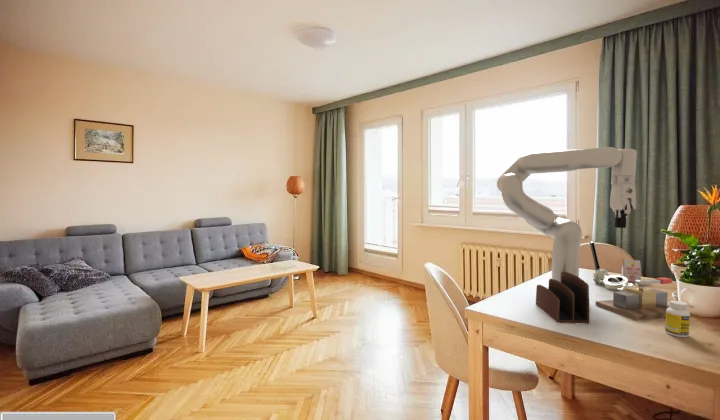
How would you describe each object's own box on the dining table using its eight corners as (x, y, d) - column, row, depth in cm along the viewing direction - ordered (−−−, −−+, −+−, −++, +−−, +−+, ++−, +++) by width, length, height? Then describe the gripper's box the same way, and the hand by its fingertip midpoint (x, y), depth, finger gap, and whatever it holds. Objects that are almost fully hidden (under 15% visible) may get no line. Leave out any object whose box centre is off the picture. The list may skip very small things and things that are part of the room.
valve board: (636, 320, 120) (636, 315, 120) (595, 305, 135) (595, 301, 135) (688, 315, 124) (688, 310, 124) (642, 301, 140) (643, 297, 140)
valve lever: (641, 286, 127) (641, 281, 127) (632, 284, 130) (633, 279, 130) (672, 283, 131) (673, 279, 131) (663, 281, 134) (663, 277, 134)
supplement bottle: (682, 339, 105) (684, 306, 104) (661, 332, 110) (662, 301, 109) (692, 336, 107) (694, 303, 106) (671, 329, 112) (672, 298, 111)
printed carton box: (621, 279, 173) (621, 258, 173) (638, 280, 170) (639, 260, 170) (622, 281, 170) (623, 260, 169) (640, 282, 167) (641, 261, 166)
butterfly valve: (638, 291, 151) (607, 277, 168) (629, 248, 148) (599, 238, 165) (619, 298, 151) (590, 283, 168) (609, 255, 148) (581, 244, 165)
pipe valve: (627, 310, 125) (628, 289, 124) (611, 304, 131) (612, 284, 130) (669, 306, 128) (670, 286, 128) (651, 301, 135) (652, 281, 134)
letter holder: (562, 305, 136) (563, 268, 135) (589, 324, 117) (591, 282, 116) (535, 304, 137) (536, 268, 137) (557, 323, 118) (558, 281, 117)
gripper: (645, 180, 132) (642, 230, 133) (622, 181, 147) (620, 225, 148) (622, 180, 133) (620, 229, 134) (602, 181, 148) (600, 225, 149)
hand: (620, 227), depth 141 cm, fingers closed
